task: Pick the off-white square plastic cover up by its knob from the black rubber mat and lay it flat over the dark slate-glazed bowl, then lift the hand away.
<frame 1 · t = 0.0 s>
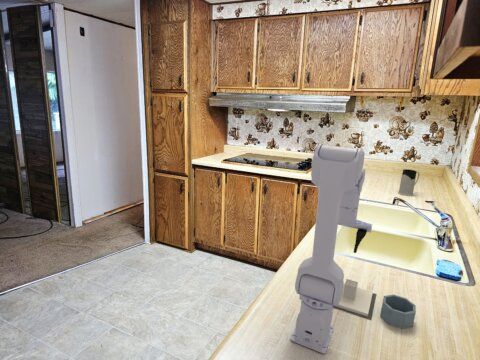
hand: (342, 248, 96), 10 cm above the countertop, tool pointing down, fingers open, 7 cm apart
bowl: (396, 319, 81), on the countertop
gray black pitcher: (408, 193, 199), on the countertop
mat: (348, 299, 88), on the countertop
cover: (349, 298, 88), resting on mat
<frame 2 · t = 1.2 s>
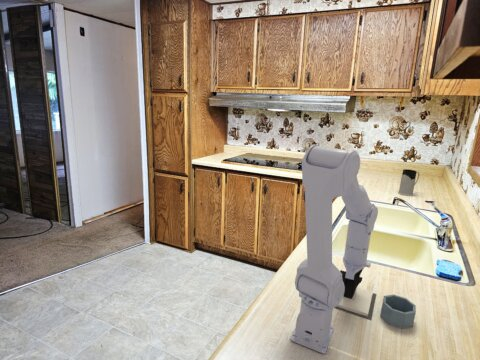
hand: (350, 290, 87), 3 cm above the countertop, tool pointing down, fingers open, 7 cm apart
nothing on the countertop moved.
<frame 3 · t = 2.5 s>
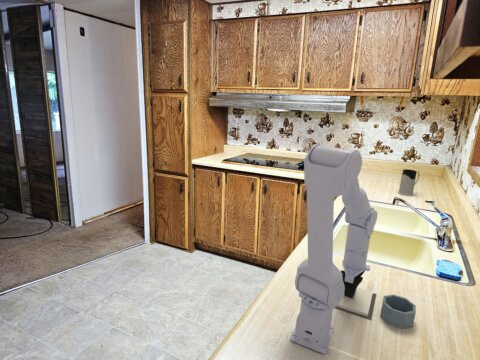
hand: (349, 293, 87), 2 cm above the countertop, tool pointing down, fingers closed on cover, 3 cm apart
cover: (349, 298, 88), resting on mat, touching gripper
everything else where it was.
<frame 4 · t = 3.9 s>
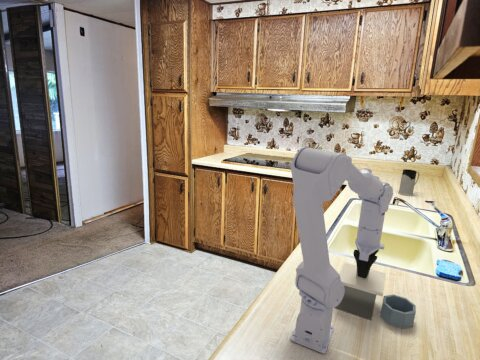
hand: (362, 273, 84), 9 cm above the countertop, tool pointing down, fingers closed on cover, 3 cm apart
cover: (361, 279, 84), point 7 cm above the countertop, touching gripper
everything else where it was.
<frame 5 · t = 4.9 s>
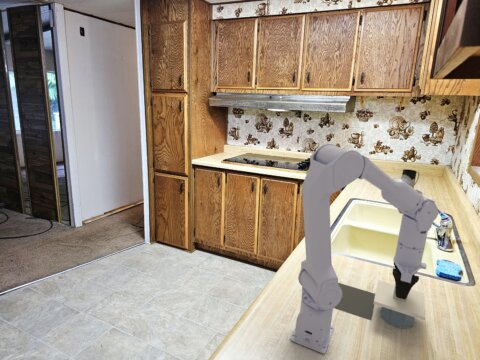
hand: (401, 294, 79), 7 cm above the countertop, tool pointing down, fingers closed on cover, 3 cm apart
cover: (399, 299, 79), point 6 cm above the countertop, touching gripper
everything else where it was.
when the fingers open (7 cm above the countertop, at t = 5.5 s): cover drops 1 cm, resting on bowl.
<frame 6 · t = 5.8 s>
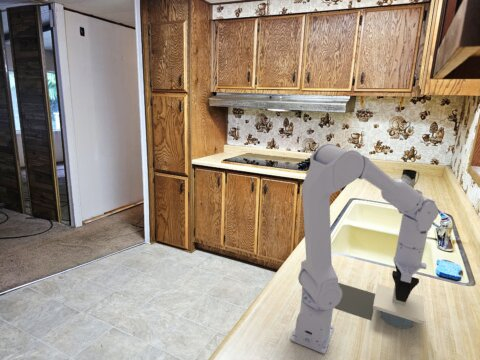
hand: (401, 294, 79), 7 cm above the countertop, tool pointing down, fingers open, 5 cm apart
cover: (398, 303, 80), point 4 cm above the countertop, touching bowl
everything else where it was.
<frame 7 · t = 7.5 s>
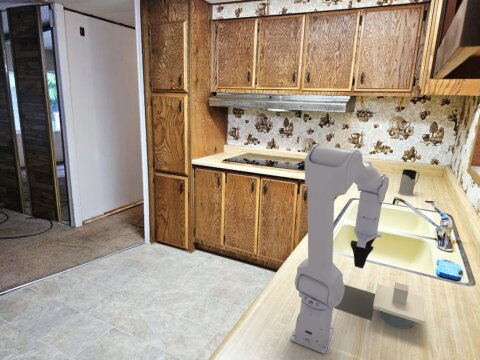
hand: (361, 261, 89), 10 cm above the countertop, tool pointing down, fingers open, 7 cm apart
nothing on the countertop moved.
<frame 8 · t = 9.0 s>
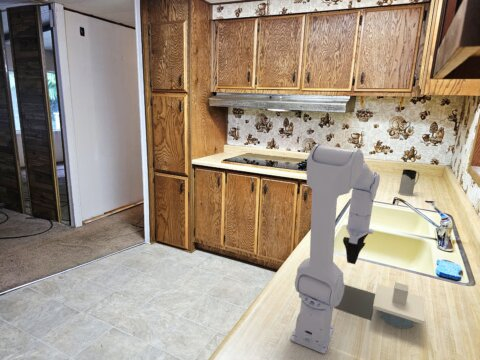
hand: (353, 257, 91), 10 cm above the countertop, tool pointing down, fingers open, 7 cm apart
nothing on the countertop moved.
at the end: cover 0.2 cm off-centre on the bowl, point 4.5 cm above the bowl's base; cover tilted 0°; the gripper is holding nothing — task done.
